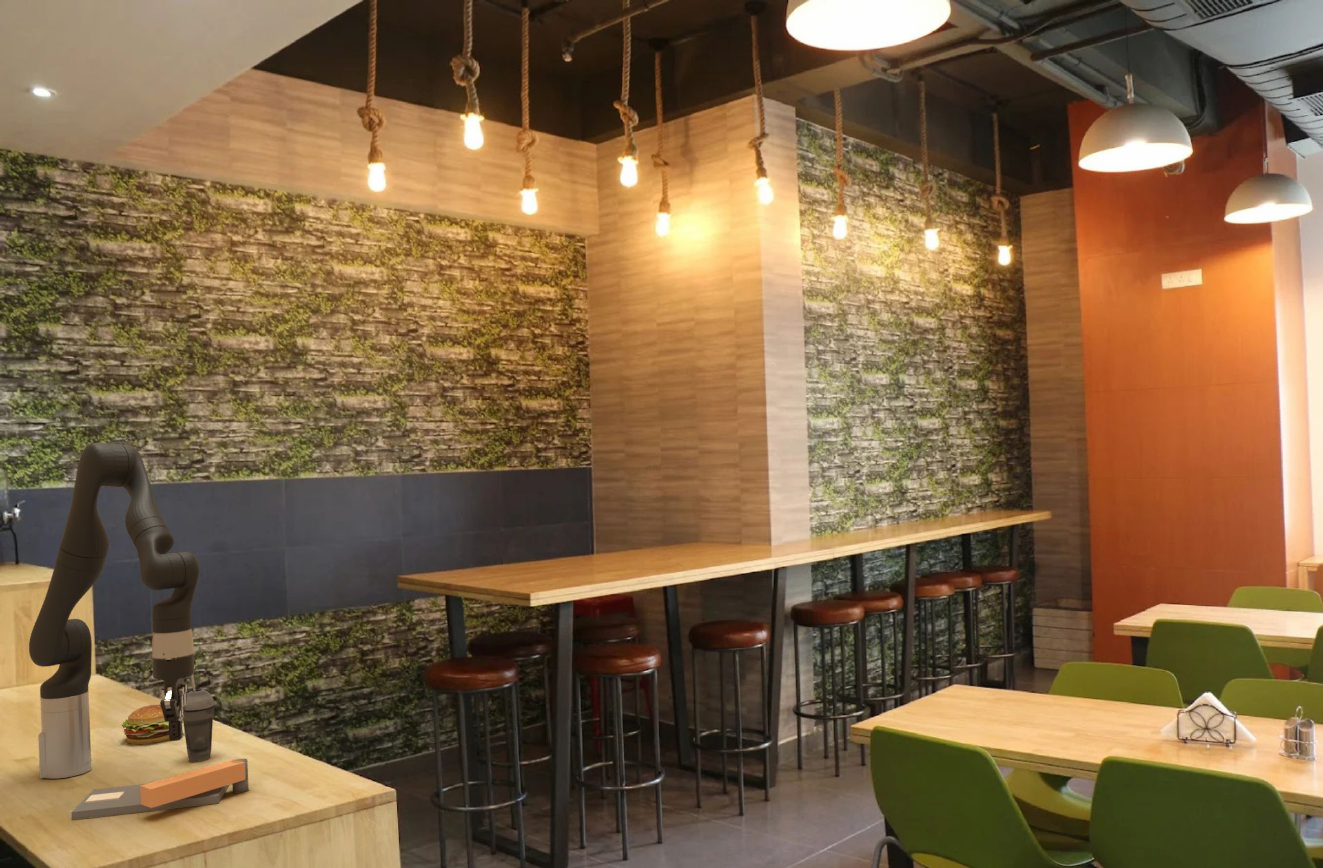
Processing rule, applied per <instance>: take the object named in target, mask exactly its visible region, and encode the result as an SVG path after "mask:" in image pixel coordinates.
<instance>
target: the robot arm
mask: <svg viewBox="0 0 1323 868" xmlns="http://www.w3.org/2000/svg"><path fill="white" fill-rule="evenodd" d="M148 476H149V475H148V473H147V470H146V467H145V464H144V460H143V458H142V456H141V454H140V453H139V451H138V450H137V448H135V447H134V446H133V445H130V444H121V443H107V442H106V443H105V442H92V443H89V444H88V445H86V446H85V447H84V448H83V450H82V453H81V454H80V458H79V461H78V465H77V470H76V475H75V482H74V488H73V492H72V499H71V503H70V504H71V505H70V508H69V512H68V516H67V520H66V524H65V528H64V531H63V534H62V538H61V541H60V543H59V548H58V551H57V554H56V559H55V563H54V566H53V567H54V568H53V571H52V575H51V578H50V581H49V585H48V587H47V588H48V589H47V591H46V594H45V597H44V600H43V603H42V605H41V608H40V610H39V613H38V616H37V618H36V620H35V622H34V625H33V627H32V630H31V632H30V636H29V637H30V638H29V641H28V642H29V643H28V652H29V657H30V659H31V661H32V662H33V663H34V664H35V665H36V666H39V667H41V668H43V667H44V668H45V667H52V666H58V669H57V670H56V672H55V673H54V674H53V675H51V677H49V678H48V679H46V680H45V681H43V682H42V683H41V685H40V687H39V688H40V689H39V697H40V698H39V699H40V719H41V721H40V722H41V723H40V724H41V732H40V733H39V734H38V740H37V741H38V759H39V762H38V763H39V779H54V780H55V779H64V778H65V779H66V778H71V777H74V776H75V777H77V776H79V775H82V774H85V773H88V772H89V771H91V770H92V746H91V745H92V744H91V722H90V719H91V718H90V698H89V697H90V695H89V684H90V680H91V677H92V657H93V656H92V650H93V643H92V634H91V631H90V628H89V626H88V625H87V623H86V622H85V621H84V620H82V619H80V618H70V616H71V613H72V611H73V610H74V609H75V606H76V605H77V604H78V603H79V601H80V600H81V599H82V598H83V597H84V596H85V595H86V593H87V592H88V591H90V589H91V588H92V587H93V586H94V584H95V583H96V582H97V581H98V579H99V577H100V576H101V574H102V572H103V570H104V566H105V563H106V559H107V555H108V551H109V546H110V545H109V544H110V543H109V542H110V541H109V537H108V535H107V532H106V529H105V527H104V525H103V523H102V521H101V518H100V515H99V513H98V509H97V508H98V507H97V505H98V497H99V492H100V490H101V488H102V487H105V488H106V487H107V488H108V487H109V488H112V487H113V488H122V487H123V488H124V489H125V490H126V492H127V493H128V495H129V496H130V501H129V505H128V507H127V510H126V513H125V519H124V520H125V528H126V530H127V533H128V535H129V537H130V539H131V541H132V542H133V544H134V547H135V548H136V550H137V556H138V561H139V569H140V577H141V581H142V583H143V584H144V585H145V587H147V588H148V589H149V590H152V591H161V590H169V589H170V590H171V589H173V591H172V593H171V595H170V597H167V599H164V600H161V601H159V602H157V603H155V604H154V605H153V607H152V611H151V614H152V615H151V616H152V642H151V656H152V658H151V659H152V678H153V679H154V680H157V681H163V682H164V684H163V687H162V688H161V698H162V699H161V700H160V702H159V704H160V705H161V708H162V712H163V715H164V720H165V722H168V723H169V740H168V741H170V742H175V741H176V742H177V741H180V740H182V738H183V736H184V735H183V723H182V719H183V717H184V715H183V714H185V711H186V710H185V708H186V700H187V694H188V690H189V686H188V685H187V683H185V679H186V678H188V677H191V675H193V676H194V674H195V658H194V657H195V656H194V654H195V653H194V652H195V651H194V650H195V649H194V637H193V630H192V604H193V600H194V597H195V591H196V588H197V585H198V582H199V581H198V580H199V575H200V564H199V561H198V559H197V558H196V556H195V555H194V554H193V553H191V552H189V551H180V552H172V553H171V552H170V551H171V549H172V548H173V547H174V544H175V543H174V542H175V539H174V536H173V534H172V532H171V531H170V528H169V527H168V525H167V523H166V521H165V519H164V517H163V516H162V514H161V512H160V510H159V507H158V505H157V503H156V500H155V496H154V492H153V490H152V486H151V482H150V479H149V477H148ZM168 552H170V553H168Z"/></svg>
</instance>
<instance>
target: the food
mask: <svg viewBox="0 0 1323 868" xmlns="http://www.w3.org/2000/svg"><path fill="white" fill-rule="evenodd" d="M127 717H128V718H126V719H125V720H124V721H123V722H122V724H121V727H122V729H123V733H124V736H125V737H126V742H127V743H129V744H131V745H132V744H133V745H148V744H149V745H150V744H156V743H162V742H165V741H170V740H169V723H168V722H165V720H164V715H163V712H162V708H161V704H160V703H159V704H149V705H146V706H142V707H139V708H136V709H135V710H133V711H132V712H131V713H130V714H129V715H128V716H127ZM182 724H183V719H182Z"/></svg>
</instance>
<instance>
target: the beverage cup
mask: <svg viewBox="0 0 1323 868" xmlns="http://www.w3.org/2000/svg"><path fill="white" fill-rule="evenodd" d="M194 677H195V676H194V674H193V675H191V676H190V679H191V685H192V690H191V691H189V692H187V700H186V708H185V710H186V711H185V714H183V715H184V717H183V723H182V725H183V729H184V730H183V731H184V739H185V745H186V752H187V758H188V762H189V763H199V762H204V761H208V760H210V759H211V757H212V756H211V754H212V746H213V745H212V742H213V740H212V739H213V725H214V724H213V722H214V714H215V707H216V704H215V701H214V698H213V696H212V695H211V693H209V692H208V691H207V690H206V689H200V688H199V689H198V688H197V689H196V683H195V679H194Z"/></svg>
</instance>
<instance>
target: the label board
mask: <svg viewBox="0 0 1323 868" xmlns="http://www.w3.org/2000/svg"><path fill="white" fill-rule="evenodd" d="M145 784H146V783H139V784H132V785H123V786H112V787H105V788H104V787H103V788H95V789H92V790H91V792H90V793H88V795H86V797H84V799H83V800H81V802H80V803H79V804H78V805H77V806H76V807H75V808H74V809H72V811H71V812H70V813H71V821H75V820H77V821H78V820H83V819H84V820H85V819H92V818H93V819H94V818H102V817H110V816H111V817H112V816H119V815H127V814H128V815H129V814H137V813H147V812H155V811H164V810H172V809H182V808H189V807H191V808H192V807H197V806H198V807H199V806H207V805H217V804H219V803H220V801H221V799H223V796H224V794H225V793H226V791H227V789H228V788H229V786H230V785H226V786H223V787H220V788H216V789H213V790H210V791H206V792H203V793H200V794H196V795H193V796H190V797H186V798H183V799H180V800H176V801H173V802H170V803H167V804H163V805H160V806H157V807H153V808H150V807H147V806H144V805H141V792H140V786H141V785H145ZM231 785H232V793H234V794H240V793H245V792H247V791H249V789H250V788H249V777H248V778H246V780H243V781H240V782H236V783H233V784H231Z"/></svg>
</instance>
